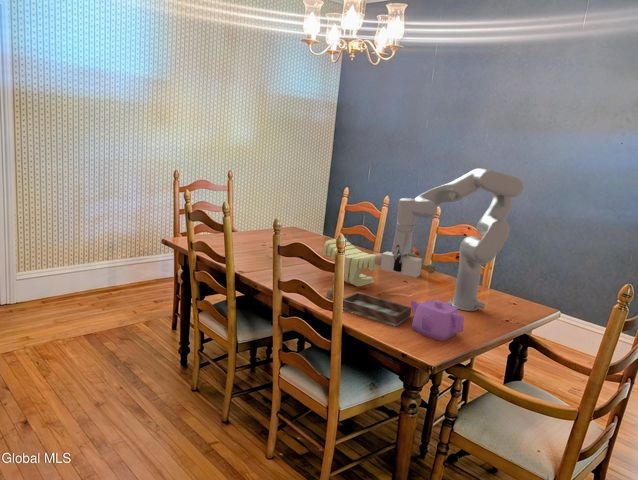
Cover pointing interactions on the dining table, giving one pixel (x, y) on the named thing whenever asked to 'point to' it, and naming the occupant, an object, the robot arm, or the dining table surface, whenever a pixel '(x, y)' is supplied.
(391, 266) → the pale grey block
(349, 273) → the slatted curved stool
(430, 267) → the toy helicopter
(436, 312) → the teakettle
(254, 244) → the dining table surface
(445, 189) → the robot arm
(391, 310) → the wooden tray
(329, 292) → the chocolate bunny
